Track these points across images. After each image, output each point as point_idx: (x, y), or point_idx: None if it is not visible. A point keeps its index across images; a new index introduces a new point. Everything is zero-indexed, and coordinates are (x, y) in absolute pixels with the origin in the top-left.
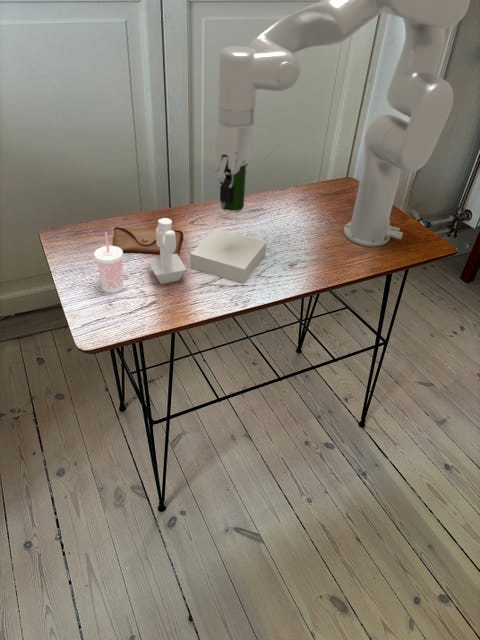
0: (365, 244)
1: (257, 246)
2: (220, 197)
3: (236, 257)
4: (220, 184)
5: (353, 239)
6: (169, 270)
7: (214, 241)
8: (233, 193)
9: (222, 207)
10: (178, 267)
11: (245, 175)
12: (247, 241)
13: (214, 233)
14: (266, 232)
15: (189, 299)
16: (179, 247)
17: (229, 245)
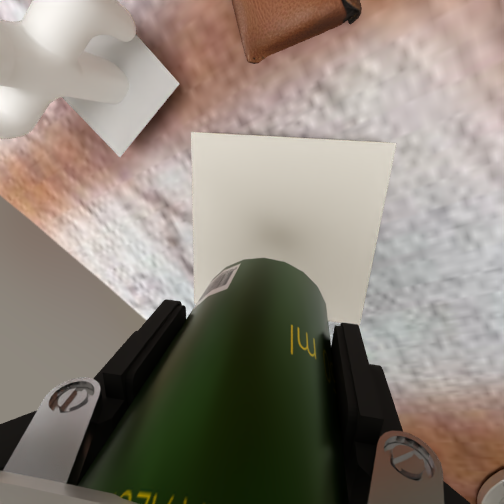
0: (478, 500)
1: None
2: (157, 311)
3: None
4: (53, 396)
5: (494, 483)
6: (90, 109)
7: (297, 176)
8: None
9: (212, 280)
10: (116, 128)
11: None
12: (338, 275)
13: (352, 154)
14: (495, 276)
15: (92, 190)
16: (286, 42)
17: (292, 231)
